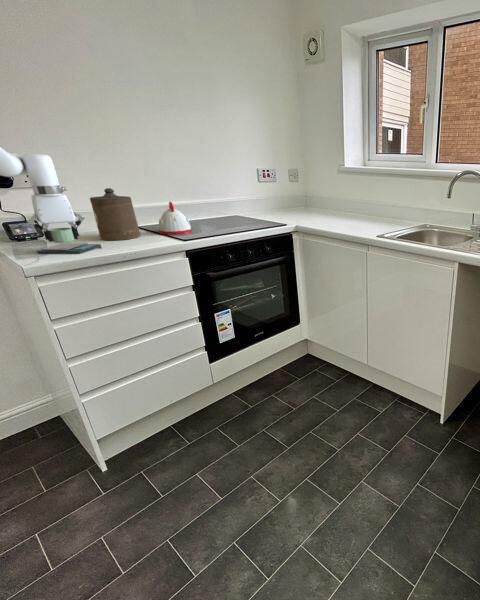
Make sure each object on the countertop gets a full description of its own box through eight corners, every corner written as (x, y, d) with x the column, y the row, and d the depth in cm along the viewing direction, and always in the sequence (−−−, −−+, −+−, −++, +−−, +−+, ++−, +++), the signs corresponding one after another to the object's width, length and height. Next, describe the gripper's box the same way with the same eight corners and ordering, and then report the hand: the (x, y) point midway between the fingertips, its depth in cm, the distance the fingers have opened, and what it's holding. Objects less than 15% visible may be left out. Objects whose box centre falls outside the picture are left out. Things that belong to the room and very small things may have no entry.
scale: (38, 257, 128) (36, 249, 127) (63, 249, 139) (61, 242, 138) (81, 257, 130) (78, 249, 129) (102, 250, 141) (100, 242, 140)
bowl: (47, 243, 129) (43, 230, 128) (61, 239, 135) (57, 227, 134) (67, 243, 130) (63, 230, 129) (79, 239, 136) (76, 227, 135)
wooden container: (115, 234, 170) (102, 186, 162) (147, 234, 171) (136, 187, 163) (92, 240, 156) (77, 189, 148) (127, 241, 157) (114, 190, 149)
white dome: (162, 235, 170) (155, 204, 164) (158, 231, 179) (151, 201, 174) (194, 233, 178) (188, 202, 172) (189, 229, 188) (183, 200, 182)
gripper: (76, 189, 135) (89, 235, 141) (11, 191, 122) (29, 241, 128) (81, 190, 130) (95, 238, 137) (15, 192, 118) (33, 245, 124)
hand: (63, 239), depth 133 cm, fingers closed on bowl, 6 cm apart
